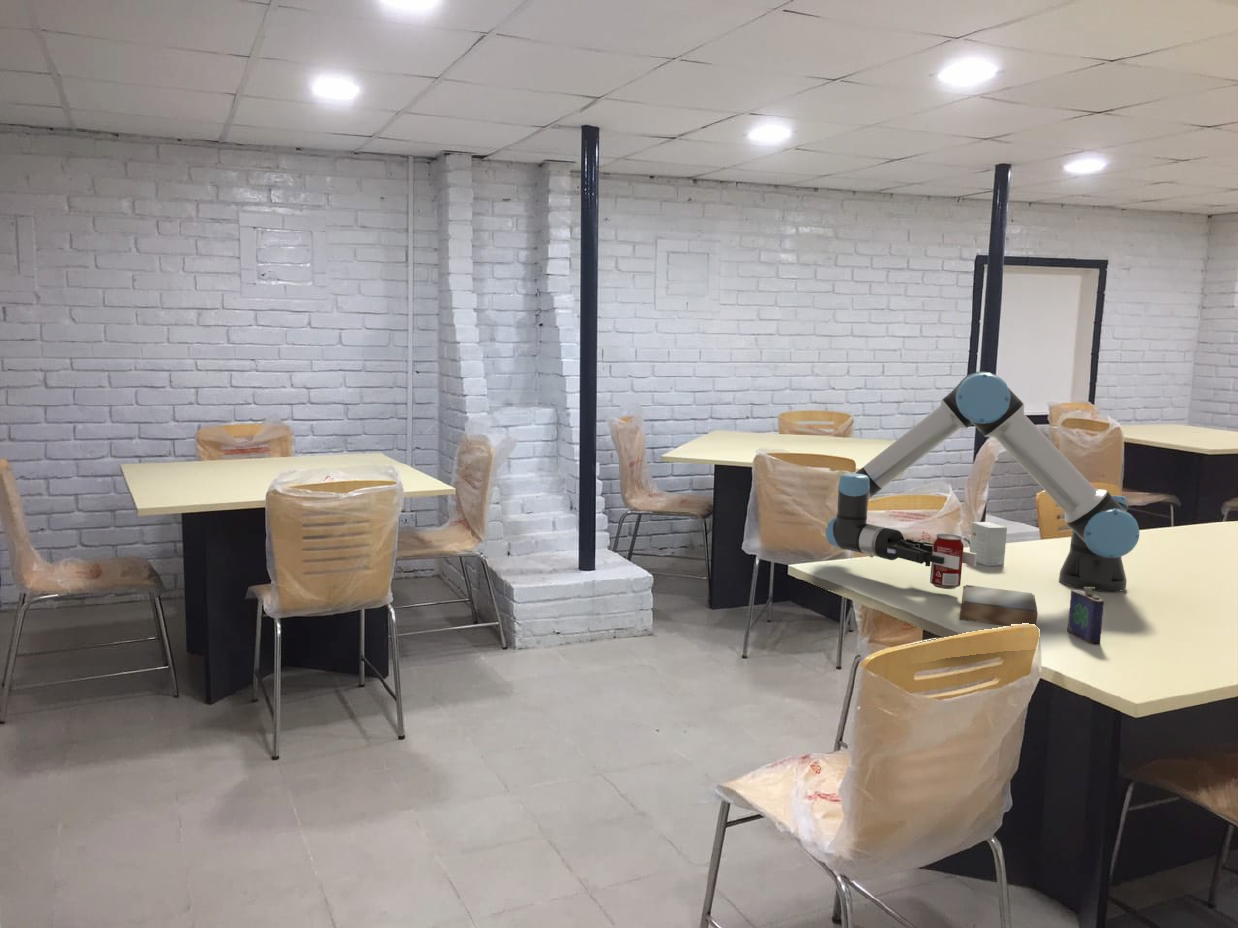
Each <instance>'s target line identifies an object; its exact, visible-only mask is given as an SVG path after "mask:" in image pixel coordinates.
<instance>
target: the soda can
mask: <svg viewBox="0 0 1238 928" xmlns="http://www.w3.org/2000/svg"><path fill="white" fill-rule="evenodd" d="M932 543H933V550H932V552H937V553H942V554H946V555H951V556H955V557H960V558H959V569H953V568H948V567H944V566H940V565H936V564H932V562H930V575H929V576H930V578H929V583H930V584H931V585H933V587H935V588H938V589H943V590H954V589H956V588H959V587H960V586H961V583H962V582H961V581H962V572H963V571H962V570H963V569H962V567H963V563H962V559H963V551H964V543H963V541H962V536H960V535H958V534H957V535H956V534H952V533H951V534H950V533H938V534H936V538H935V539H934V541H933V542H932Z"/></svg>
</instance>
